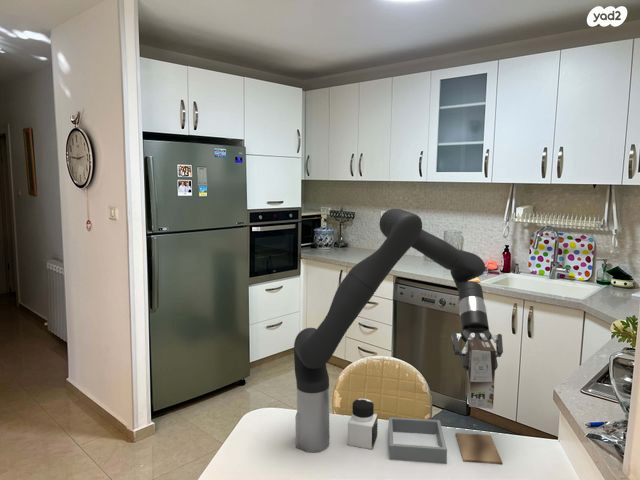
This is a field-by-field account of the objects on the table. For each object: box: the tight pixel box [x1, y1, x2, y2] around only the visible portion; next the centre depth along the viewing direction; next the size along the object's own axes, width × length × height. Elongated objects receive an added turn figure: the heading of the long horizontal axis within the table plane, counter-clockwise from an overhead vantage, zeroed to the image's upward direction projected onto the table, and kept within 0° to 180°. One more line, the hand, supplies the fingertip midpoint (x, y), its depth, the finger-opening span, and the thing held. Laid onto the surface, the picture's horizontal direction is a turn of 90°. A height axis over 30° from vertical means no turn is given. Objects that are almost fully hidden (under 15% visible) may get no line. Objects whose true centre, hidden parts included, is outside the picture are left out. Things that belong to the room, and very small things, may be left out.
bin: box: [388, 416, 448, 465], centre depth 128 cm, size 15×15×4 cm
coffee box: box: [465, 339, 496, 410], centre depth 124 cm, size 9×6×16 cm
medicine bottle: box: [347, 398, 378, 450], centre depth 130 cm, size 7×7×12 cm
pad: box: [455, 432, 503, 465], centre depth 127 cm, size 10×13×1 cm
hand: (480, 369), depth 124 cm, fingers closed on coffee box, 6 cm apart
